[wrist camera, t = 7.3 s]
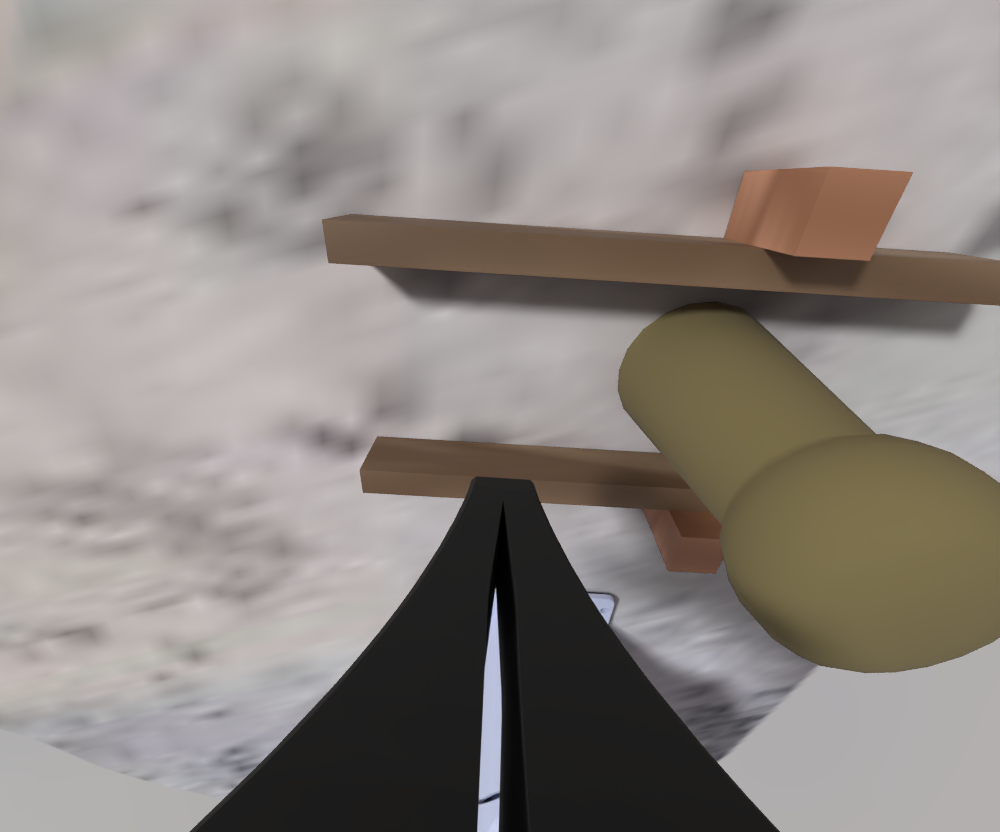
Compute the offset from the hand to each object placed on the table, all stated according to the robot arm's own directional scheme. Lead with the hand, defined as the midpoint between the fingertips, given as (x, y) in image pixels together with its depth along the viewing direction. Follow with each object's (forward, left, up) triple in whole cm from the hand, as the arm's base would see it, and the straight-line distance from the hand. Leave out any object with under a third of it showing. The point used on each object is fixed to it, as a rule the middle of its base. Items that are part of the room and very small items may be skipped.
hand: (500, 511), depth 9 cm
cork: (0, -8, -9) cm, 12 cm away
